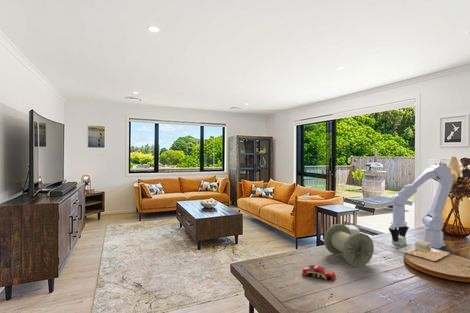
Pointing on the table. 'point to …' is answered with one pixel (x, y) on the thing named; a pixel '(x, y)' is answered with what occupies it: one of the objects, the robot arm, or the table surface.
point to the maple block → (422, 246)
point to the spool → (349, 244)
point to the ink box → (352, 229)
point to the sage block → (400, 240)
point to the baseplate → (412, 248)
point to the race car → (318, 272)
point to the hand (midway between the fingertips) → (398, 240)
